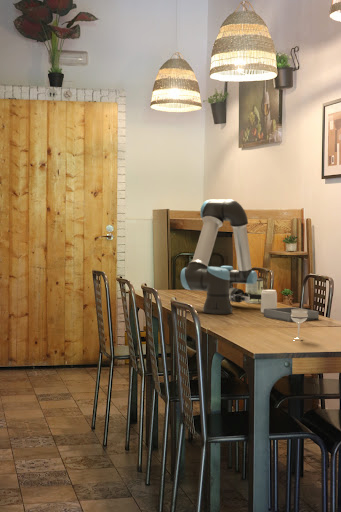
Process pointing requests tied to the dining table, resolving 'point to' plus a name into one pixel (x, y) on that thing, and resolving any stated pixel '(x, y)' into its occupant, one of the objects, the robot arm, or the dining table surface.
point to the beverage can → (268, 299)
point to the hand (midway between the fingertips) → (259, 299)
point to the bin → (288, 314)
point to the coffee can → (255, 289)
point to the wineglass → (299, 317)
